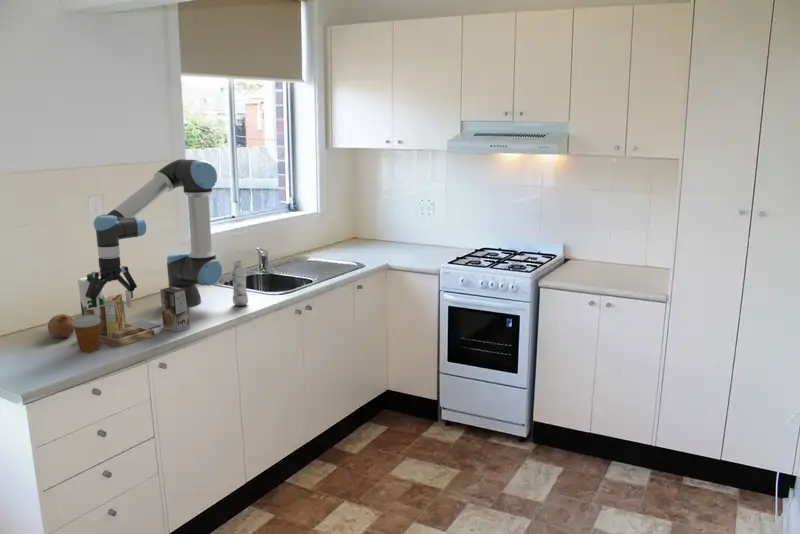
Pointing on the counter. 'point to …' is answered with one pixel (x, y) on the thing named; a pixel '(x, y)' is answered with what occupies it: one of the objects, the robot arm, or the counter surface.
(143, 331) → the rack
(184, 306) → the coffee box
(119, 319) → the candy box
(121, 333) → the offcut upper
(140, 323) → the mat
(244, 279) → the plastic bottle
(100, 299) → the milk carton
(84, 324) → the disposable coffee cup
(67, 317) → the onion
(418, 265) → the counter surface
